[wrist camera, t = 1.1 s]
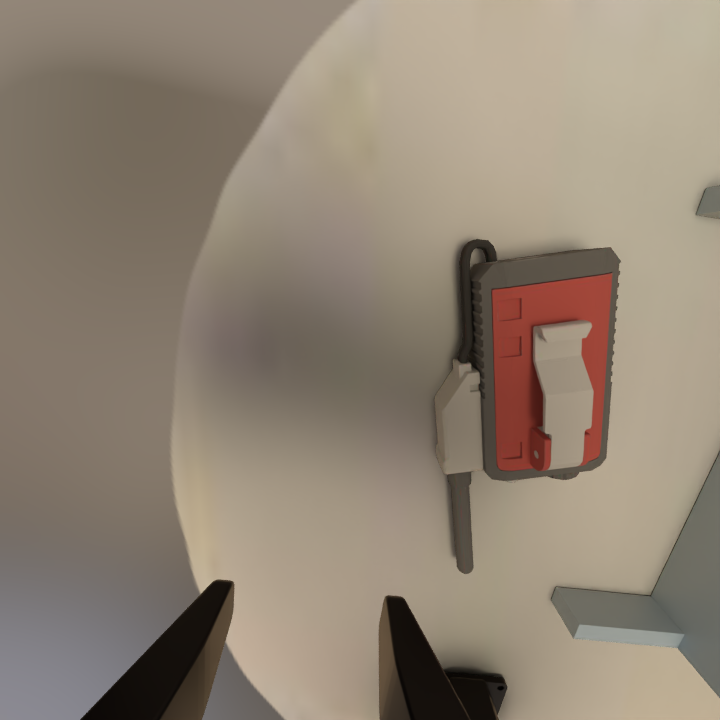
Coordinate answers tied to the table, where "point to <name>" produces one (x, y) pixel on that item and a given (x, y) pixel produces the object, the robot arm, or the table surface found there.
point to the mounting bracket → (667, 582)
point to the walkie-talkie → (527, 373)
